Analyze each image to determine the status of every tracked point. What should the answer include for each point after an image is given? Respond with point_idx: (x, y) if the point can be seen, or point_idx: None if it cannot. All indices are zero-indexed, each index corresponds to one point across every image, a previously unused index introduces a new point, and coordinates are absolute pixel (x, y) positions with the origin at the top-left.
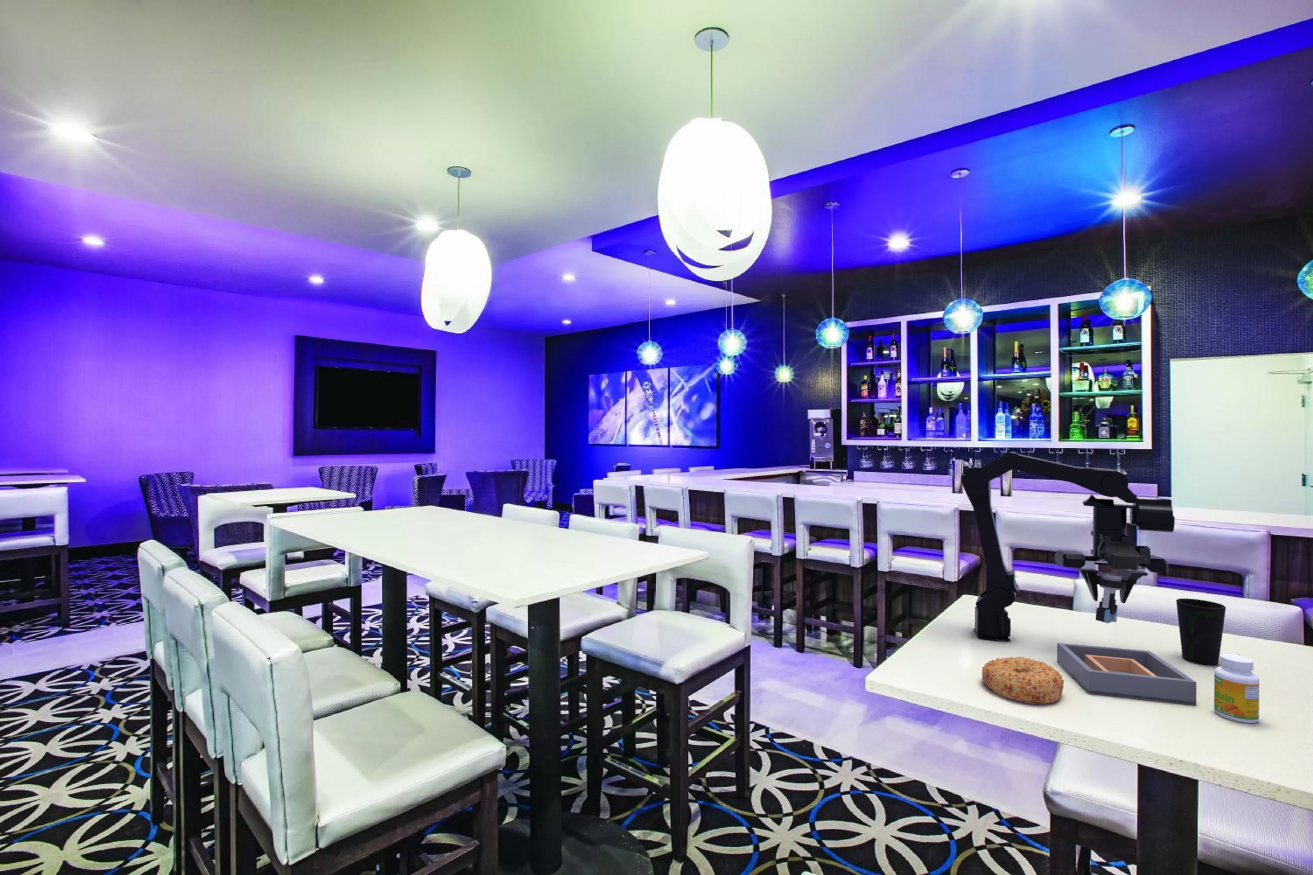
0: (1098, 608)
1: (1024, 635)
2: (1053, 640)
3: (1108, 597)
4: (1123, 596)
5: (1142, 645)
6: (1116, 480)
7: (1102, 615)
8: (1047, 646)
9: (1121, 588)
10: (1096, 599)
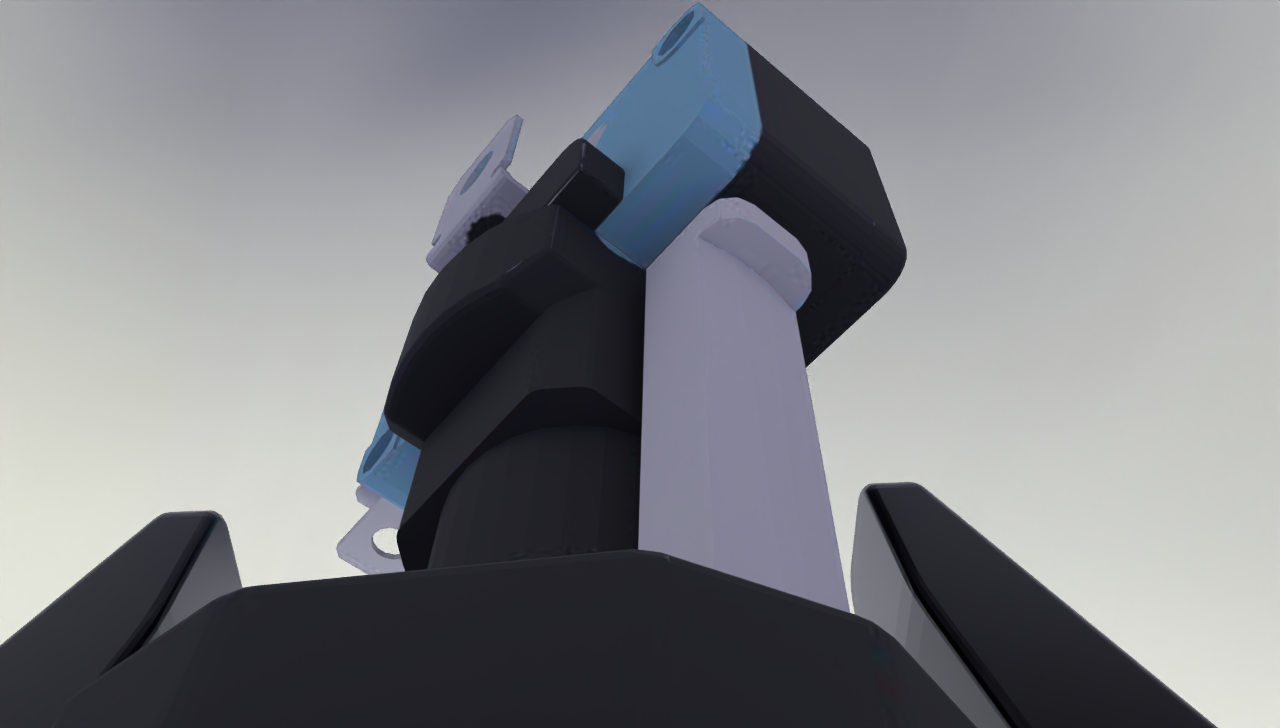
0: (875, 249)
1: (1250, 495)
2: (1000, 424)
3: (696, 393)
4: (157, 627)
5: (52, 559)
6: None
7: (785, 117)
8: (1204, 172)
9: (199, 616)
10: (903, 502)
